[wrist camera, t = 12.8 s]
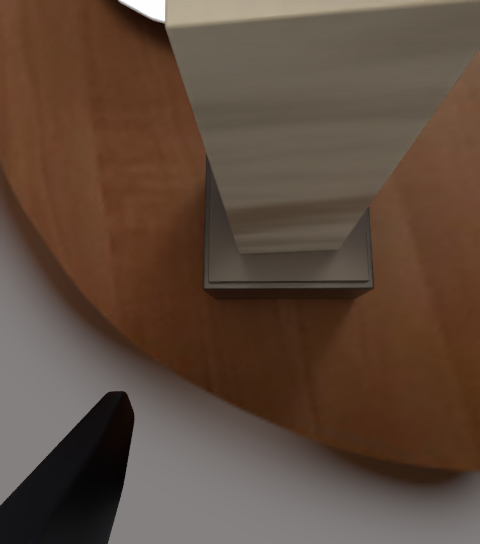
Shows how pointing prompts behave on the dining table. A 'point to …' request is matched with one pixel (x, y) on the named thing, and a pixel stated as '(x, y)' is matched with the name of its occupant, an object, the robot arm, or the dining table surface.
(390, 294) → the dining table surface
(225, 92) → the block
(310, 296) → the stand
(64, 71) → the dining table surface
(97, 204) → the dining table surface
